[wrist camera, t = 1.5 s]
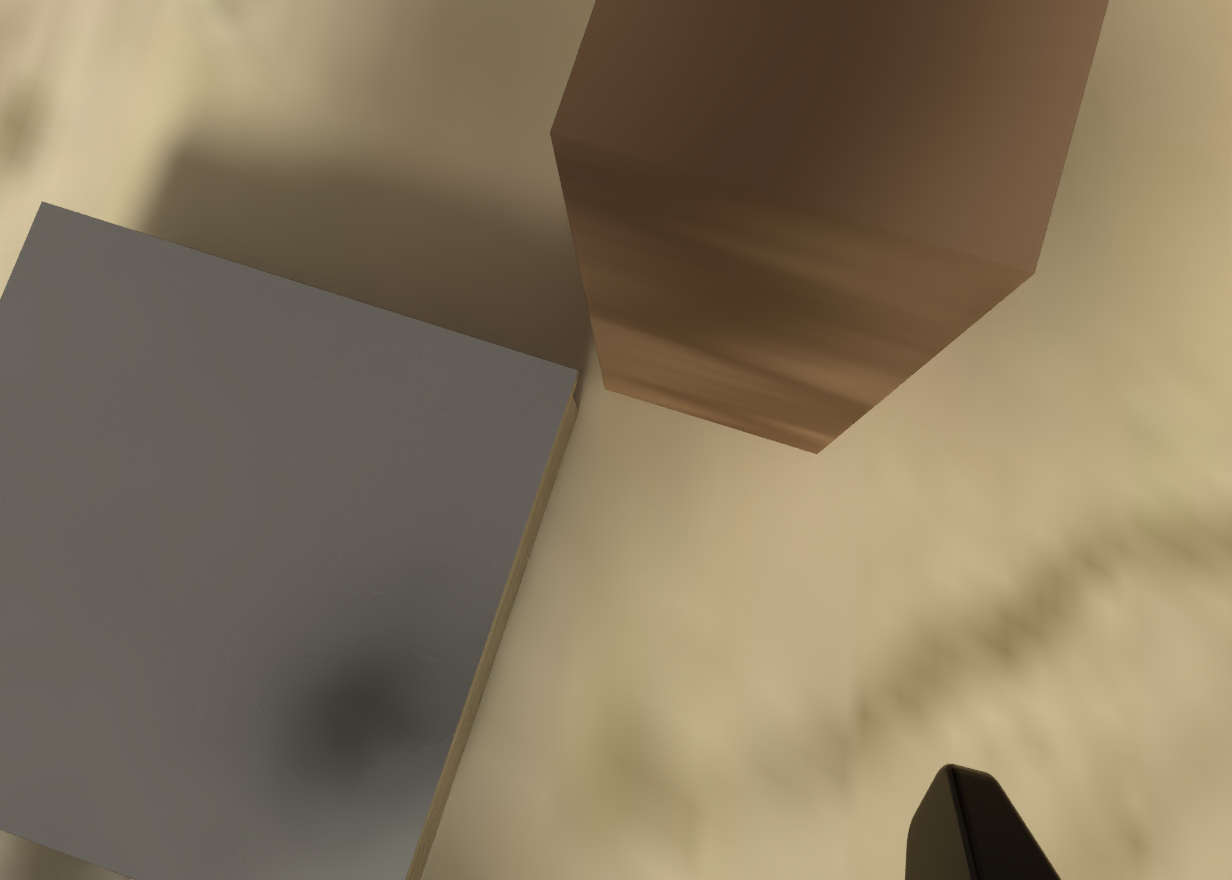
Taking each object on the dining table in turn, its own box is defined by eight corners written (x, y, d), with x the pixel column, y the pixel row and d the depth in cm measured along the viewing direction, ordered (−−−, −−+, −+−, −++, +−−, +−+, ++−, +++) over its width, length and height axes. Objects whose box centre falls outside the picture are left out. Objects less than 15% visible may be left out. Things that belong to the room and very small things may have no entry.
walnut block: (877, 249, 23) (1154, -170, 11) (816, 454, 23) (1034, 273, 10) (670, 189, 24) (695, -285, 11) (605, 388, 23) (551, 132, 10)
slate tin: (590, 408, 23) (578, 370, 20) (424, 900, 22) (375, 967, 18) (140, 264, 24) (42, 201, 20) (-48, 729, 23) (-195, 757, 19)
